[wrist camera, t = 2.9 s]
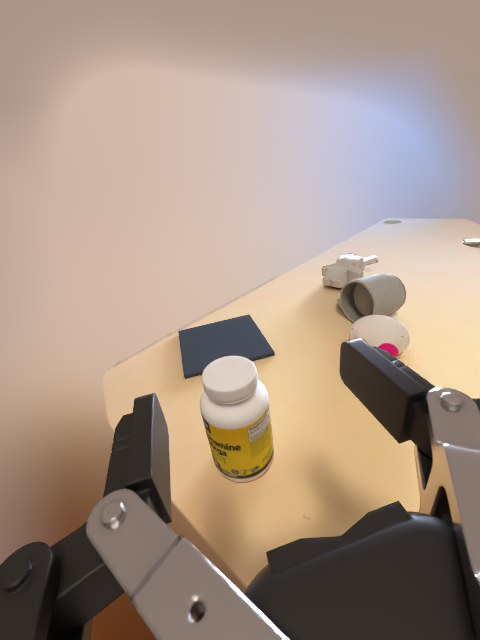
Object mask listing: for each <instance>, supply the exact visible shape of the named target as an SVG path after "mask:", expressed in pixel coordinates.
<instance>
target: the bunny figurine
mask: <svg viewBox="0 0 480 640" xmlns="http://www.w3.org/2000/svg"><path fill="white" fill-rule="evenodd" d="M377 262H378V260H377V257H376V256H368V257H366V258H364V259H363V258H362V257H356V254H353V253H348V254H347V256H346V255H342V256H340V257H339V258H338V259H337V262H336V263H335V264H332V265H327V266H323V267H322V276H324V278H323V285H327V286H332V287H337V288H343V286H344V285H345V284H346V283H347V282H349V281H351V280H354V279H359V278H363V270H364V267H365V266H366V265H370V264H373V263H377Z"/></svg>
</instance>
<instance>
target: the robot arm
mask: <svg viewBox="0 0 480 640" xmlns="http://www.w3.org/2000/svg"><path fill="white" fill-rule="evenodd" d="M340 375H341V378H342V381H343V382H344V384H345V385H346V386H347V387H348V388H349V389H350V390H351V392H352V393H353V394H354V395H355V396H356V397H357V398H358V399H359V400H360V401H361V402H362V404H363V405H364V406H365V407H366V408H367V409H368V410H369V411H370V412H371V413H372V414H373V416H374V417H375V418H376V419H377V420H378V421H379V422H380V423H381V424H382V425H383V426H384V428H385V429H386V430H387V431H388V432H389V433H390V434H391V435H392V436H393V437H394V438H395V440H396V441H397V442H398V443H399V444H400V443H403V442H405V441H408V440H412V441H413V442H414V443H415V447H414V454H415V462H416V470H417V478H418V485H419V493H420V509H419V512H407V511H406V510H405V509H404V507H403V506H402V505H401V503H400V502H399V501H397V502H394V503H392V504H389V505H386V506H384V507H381V508H379V509H376V510H374V511H371V512H368V513H367V514H366V515H365V516H364V517H362V518H361V519H360V520H359V521H358V522H357V523H356V524H354V525H353V526H352V527H351V528H350V529H349V530H347V531H346V532H345V533H344V534H343V535H341V536H337V537H320V538H303V539H299V540H296V541H294V542H291V543H288V544H286V545H283V546H281V547H278V548H276V549H273V550H270V551H268V552H266V553H267V558H268V565H267V566H266V567H264V568H263V569H262V570H261V571H260V572H259V573H258V574H257V575H256V577H255V578H254V579H253V580H252V582H251V583H250V585H249V586H248V588H247V590H246V592H245V594H243V593H242V592H241V591H240V590H239V589H238V588H237V587H236V586H235V585H234V584H233V583H232V582H231V581H229V579H228V578H226V576H225V575H223V574H222V573H221V572H220V571H219V570H218V569H217V568H216V567H215V566H214V565H213V564H212V563H211V562H210V561H209V560H208V559H207V558H206V557H205V556H204V555H203V554H202V553H201V552H200V551H199V550H198V549H197V548H196V547H195V546H194V545H193V544H192V543H191V542H190V541H189V540H188V539H187V538H185V537H184V536H182V535H181V536H178V535H177V534H175V533H174V532H173V531H172V530H171V529H170V528H169V527H168V526H167V525H166V524H167V523H170V522H172V519H171V518H172V517H171V490H170V463H169V436H168V429H167V424H166V421H165V418H164V415H163V412H162V409H161V407H160V404H159V401H158V398H157V396H156V394H155V393H153V394H149V395H145V396H142V397H138V398H135V400H134V408H133V413H131V414H127V415H124V416H123V417H122V418H121V420H120V422H119V423H118V425H117V426H116V428H115V434H114V440H113V441H114V443H113V446H112V453H111V457H110V462H109V468H108V474H107V480H106V485H105V491H104V495H103V499H102V500H100V501H99V502H98V503H97V505H96V506H95V507H94V509H93V510H92V512H91V513H90V515H89V518H88V521H87V522H86V523H85V524H84V525H83V526H81V527H80V528H79V529H77V530H76V531H74V532H73V533H71V534H70V535H68V536H66V537H65V538H64V539H62V540H60V541H59V542H57V543H56V544H54V545H53V546H51V547H49V546H48V545H47V544H46V543H43V542H33V543H30V544H27V545H25V546H23V547H21V548H20V549H18V550H17V551H15V552H14V553H13V554H12V555H10V556H9V557H8V558H7V559H6V560H5V561H4V562H3V563H2V564H1V565H0V640H90V638H91V629H92V619H93V617H94V616H96V615H97V614H98V613H99V612H100V611H102V610H103V609H104V608H106V607H107V606H108V605H109V604H111V603H112V602H113V601H114V600H115V599H117V598H118V597H119V596H120V595H122V594H123V593H124V592H126V594H127V595H128V597H129V598H130V600H131V602H132V604H133V605H134V606H135V608H136V610H137V611H138V612H139V614H140V615H141V617H142V618H143V620H144V621H145V623H146V624H147V626H148V627H149V628H150V630H151V631H152V633H153V634H154V636H155V637H156V639H157V640H480V399H471V398H470V397H469V396H467V395H466V394H464V393H462V392H460V391H457V390H454V389H450V388H436V387H435V386H433V385H432V384H431V383H429V382H428V381H427V380H425V379H424V378H422V377H421V376H420V375H418V374H417V373H416V372H414V371H413V370H412V369H410V368H409V367H408V366H405V364H404V363H402V362H401V361H400V360H397V358H396V357H394V356H393V355H392V354H390V353H389V352H388V351H385V350H383V349H380V348H378V347H375V346H373V347H372V346H370V345H369V344H368V343H367V342H365V341H364V340H363V339H361V338H357V339H354V340H350V341H346V342H343V343H342V344H341V353H340Z"/></svg>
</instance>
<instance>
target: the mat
mask: <svg viewBox="0 0 480 640" xmlns="http://www.w3.org/2000/svg"><path fill="white" fill-rule="evenodd" d="M179 339H180V347H181V355H182V363H183V371H184V377H185V379H186V378H190V377H194V376H197V375H201V374H202V373H203V371H204V369H205V368H206V367H207V366H208V365H209V364H210V363H211V362H213V361H214V360H217V359H219V358H222V357H226V356H240V357H244V358H247V359H249V360H250V361H254V360H258V359H262V358H266V357H269V356H273V355H275V354H274V351H273V349H272V348H271V346H270V345H269V343H268V342H267V340H266V339H265V337H264V336H263V334H262V333H261V331H260V330H259V328H258V327H257V325H256V324H255V322H254V321H253V319H252V318H251V316H250V315H245V316H241V317H237V318H232V319H228V320H224V321H220V322H215V323H211V324H207V325H203V326H198V327H194V328H190V329H186V330H181V331H179Z"/></svg>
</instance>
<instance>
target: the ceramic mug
mask: <svg viewBox="0 0 480 640" xmlns="http://www.w3.org/2000/svg"><path fill="white" fill-rule="evenodd" d="M405 299H406V291H405V287H404V285H403V283H402V282H401V280H400V279H399V278H397V277H396V276H394V275H392V274H386V273H385V274H376V275H372V276H368V277H363V278H359V279H354V280H351V281H349V282H347V283H346V284H345V285H344V286H343V288H342V290H341V293H340V298H339V299H338V304H339V307H342V310H343V312H344V314H345V315H346V317H347V318H348V319H349V320H351V321H352V322H354V323H355V322H356V321H357V320H358V319H360V318H362V317H365V316H369V315H384V316H387V315H389V314H392V313H394V312H395V311H397V310H398V309H399V308H401V307H402V305H403V304H404V302H405Z"/></svg>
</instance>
